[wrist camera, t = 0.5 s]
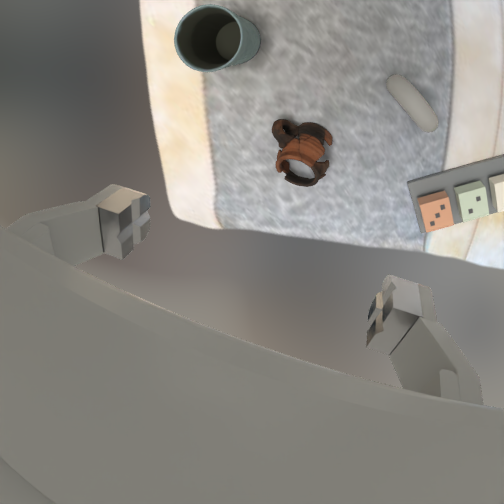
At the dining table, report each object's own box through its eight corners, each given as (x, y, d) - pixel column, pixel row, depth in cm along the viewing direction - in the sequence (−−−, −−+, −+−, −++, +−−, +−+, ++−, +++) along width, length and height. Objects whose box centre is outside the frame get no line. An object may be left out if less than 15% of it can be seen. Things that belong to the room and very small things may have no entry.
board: (420, 230, 52) (422, 237, 50) (406, 181, 48) (408, 187, 46) (515, 203, 42) (520, 209, 40) (508, 153, 38) (514, 157, 36)
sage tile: (459, 214, 45) (463, 222, 43) (454, 187, 44) (458, 194, 41) (484, 207, 43) (489, 215, 41) (479, 180, 41) (485, 187, 39)
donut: (378, 82, 41) (384, 85, 33) (393, 69, 39) (402, 69, 31) (419, 129, 43) (432, 144, 35) (434, 117, 41) (450, 129, 33)
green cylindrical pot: (213, 13, 41) (178, 4, 32) (271, 17, 40) (247, 5, 30) (206, 65, 48) (170, 69, 38) (262, 72, 46) (237, 75, 36)
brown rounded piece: (348, 146, 49) (336, 181, 46) (311, 163, 57) (297, 196, 54) (297, 96, 44) (279, 128, 41) (263, 121, 52) (244, 152, 49)
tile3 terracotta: (423, 224, 49) (426, 232, 47) (417, 198, 47) (419, 205, 45) (450, 217, 46) (454, 225, 44) (444, 190, 44) (448, 197, 42)
